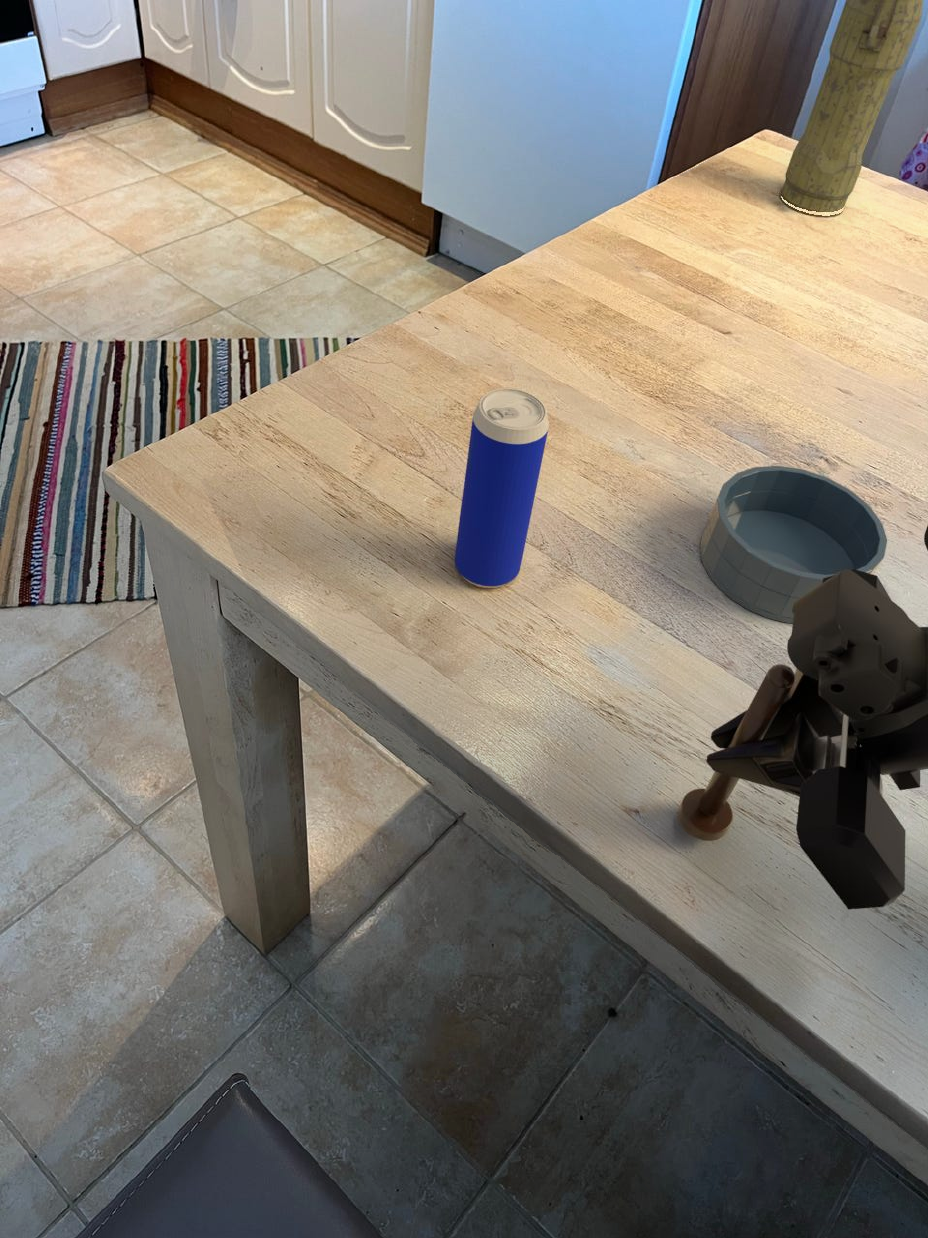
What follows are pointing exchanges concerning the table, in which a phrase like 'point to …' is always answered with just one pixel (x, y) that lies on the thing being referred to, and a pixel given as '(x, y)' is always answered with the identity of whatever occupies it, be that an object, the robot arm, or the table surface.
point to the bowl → (786, 537)
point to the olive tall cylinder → (849, 101)
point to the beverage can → (500, 486)
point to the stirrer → (709, 807)
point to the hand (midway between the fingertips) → (712, 751)
